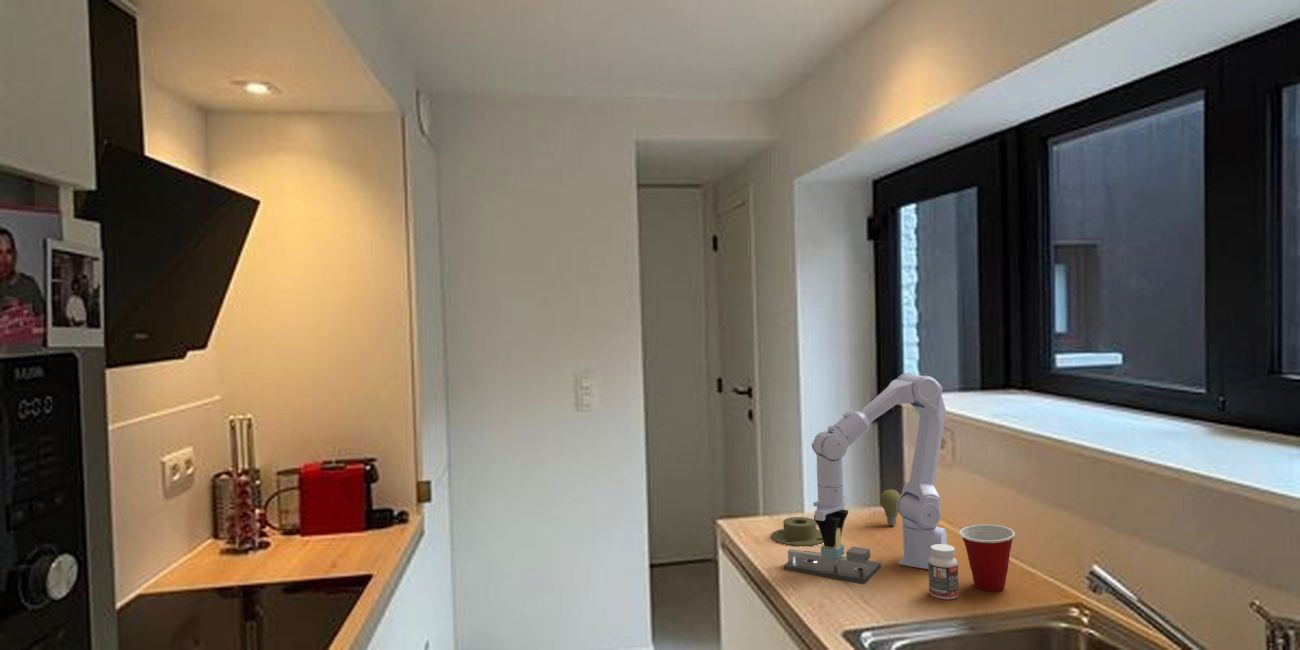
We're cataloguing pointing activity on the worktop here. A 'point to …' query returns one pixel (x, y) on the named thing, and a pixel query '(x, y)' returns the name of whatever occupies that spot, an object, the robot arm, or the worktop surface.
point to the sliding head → (834, 548)
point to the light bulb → (890, 505)
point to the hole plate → (832, 569)
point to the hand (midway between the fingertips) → (832, 544)
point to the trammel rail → (854, 559)
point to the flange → (798, 532)
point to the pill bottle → (943, 572)
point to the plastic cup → (988, 554)
